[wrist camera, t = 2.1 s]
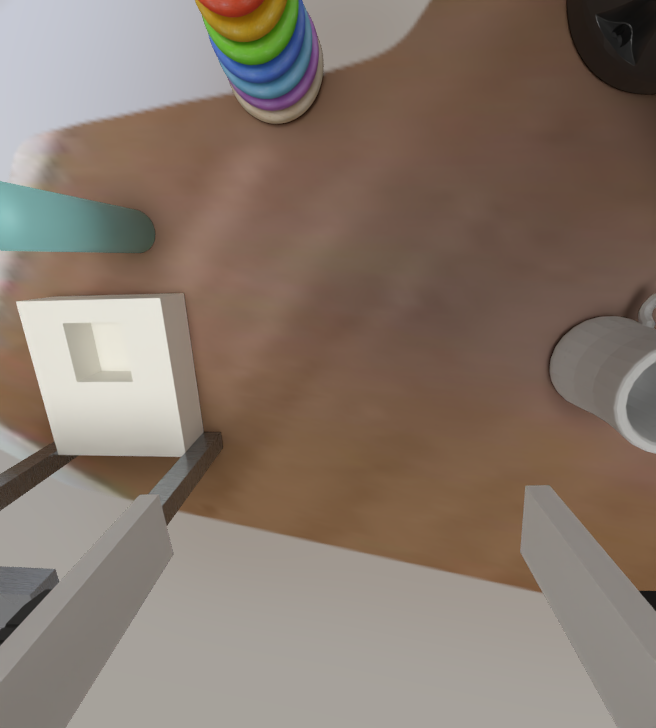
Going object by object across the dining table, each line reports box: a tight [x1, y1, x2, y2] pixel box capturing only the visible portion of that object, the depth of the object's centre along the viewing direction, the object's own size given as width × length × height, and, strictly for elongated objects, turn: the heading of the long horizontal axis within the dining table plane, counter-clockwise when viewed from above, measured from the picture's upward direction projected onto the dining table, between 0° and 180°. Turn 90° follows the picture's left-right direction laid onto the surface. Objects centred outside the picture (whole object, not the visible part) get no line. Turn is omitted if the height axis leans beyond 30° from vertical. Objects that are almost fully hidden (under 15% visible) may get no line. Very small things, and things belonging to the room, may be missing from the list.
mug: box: [550, 293, 656, 453], centre depth 30 cm, size 12×9×10 cm
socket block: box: [16, 293, 204, 457], centre depth 37 cm, size 16×14×4 cm
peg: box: [0, 181, 155, 253], centre depth 28 cm, size 4×4×14 cm
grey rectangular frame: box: [0, 432, 223, 629], centre depth 30 cm, size 6×18×24 cm, turn 92°
